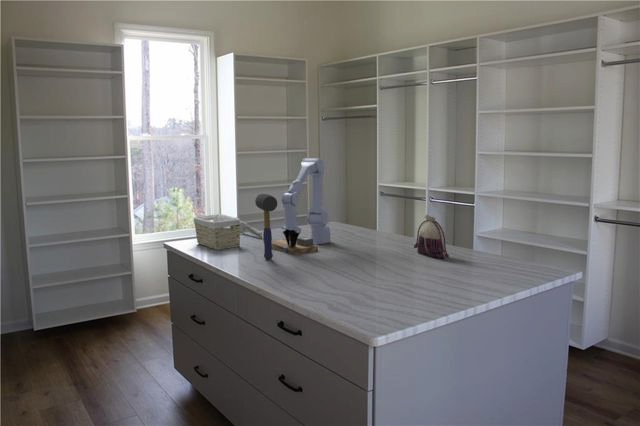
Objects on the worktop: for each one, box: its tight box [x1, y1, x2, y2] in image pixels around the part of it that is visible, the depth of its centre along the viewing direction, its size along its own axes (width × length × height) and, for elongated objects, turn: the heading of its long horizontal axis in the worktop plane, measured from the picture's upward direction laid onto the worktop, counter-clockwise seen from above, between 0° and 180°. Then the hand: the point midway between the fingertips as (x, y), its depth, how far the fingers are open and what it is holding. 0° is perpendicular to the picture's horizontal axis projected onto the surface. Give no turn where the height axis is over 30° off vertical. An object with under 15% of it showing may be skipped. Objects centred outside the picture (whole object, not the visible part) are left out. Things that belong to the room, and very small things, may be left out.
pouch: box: [413, 214, 450, 260], centre depth 250 cm, size 25×8×19 cm, turn 33°
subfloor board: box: [271, 238, 319, 256], centre depth 274 cm, size 15×26×2 cm, turn 35°
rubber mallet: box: [254, 193, 278, 261], centre depth 250 cm, size 12×8×30 cm, turn 24°
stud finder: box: [297, 236, 314, 246], centre depth 271 cm, size 5×7×3 cm
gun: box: [235, 216, 263, 239], centre depth 313 cm, size 2×30×8 cm, turn 36°
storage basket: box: [193, 213, 241, 251], centre depth 286 cm, size 24×16×15 cm
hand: (291, 245), depth 267 cm, fingers closed on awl, 2 cm apart
